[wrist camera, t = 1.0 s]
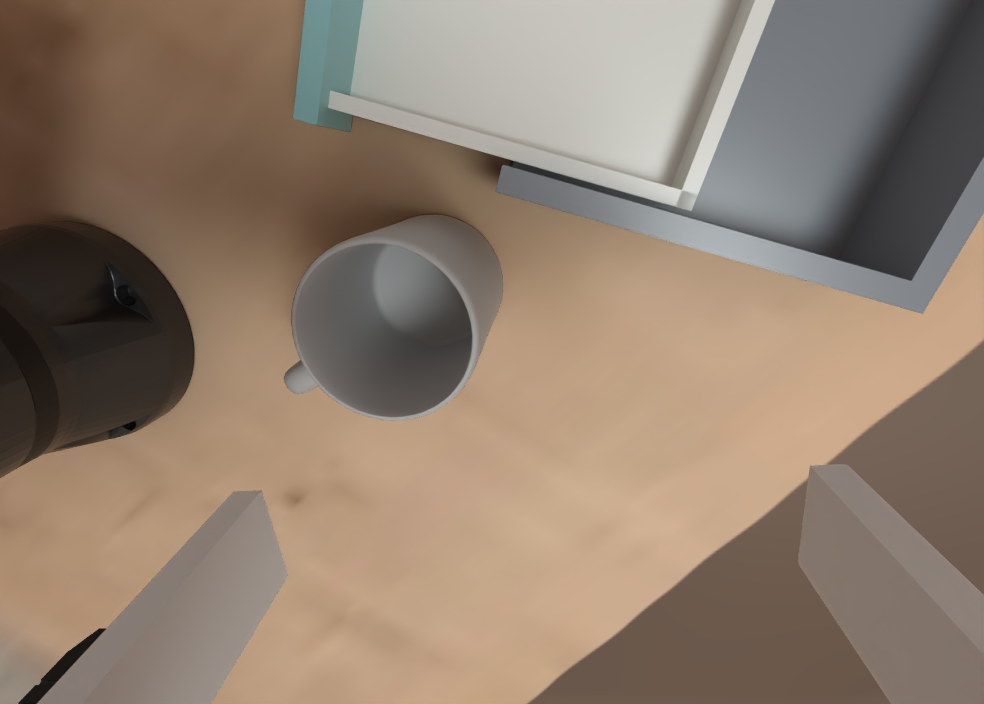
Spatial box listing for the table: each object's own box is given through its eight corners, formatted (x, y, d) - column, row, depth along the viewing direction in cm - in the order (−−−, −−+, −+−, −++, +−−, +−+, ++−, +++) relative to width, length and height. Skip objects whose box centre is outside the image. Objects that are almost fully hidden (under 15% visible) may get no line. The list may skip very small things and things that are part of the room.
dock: (508, 187, 29) (495, 191, 23) (628, -269, 22) (660, -454, 16) (838, 281, 29) (922, 313, 22) (1066, -151, 22) (1286, -289, 15)
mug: (455, 185, 30) (404, 192, 19) (529, 305, 32) (518, 369, 21) (306, 287, 33) (194, 340, 23) (381, 391, 35) (310, 482, 24)
